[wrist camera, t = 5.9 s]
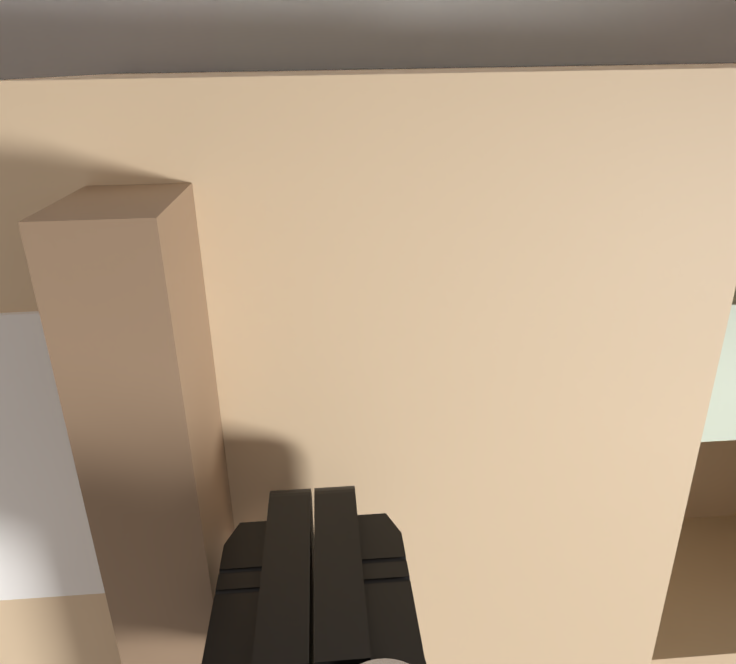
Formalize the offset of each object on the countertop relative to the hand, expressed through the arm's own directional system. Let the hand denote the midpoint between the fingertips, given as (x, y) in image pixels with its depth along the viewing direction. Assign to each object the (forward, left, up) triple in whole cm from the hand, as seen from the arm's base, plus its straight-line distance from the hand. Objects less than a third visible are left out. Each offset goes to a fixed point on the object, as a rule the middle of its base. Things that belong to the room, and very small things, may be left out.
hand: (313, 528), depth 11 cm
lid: (+2, 0, -2) cm, 3 cm away
